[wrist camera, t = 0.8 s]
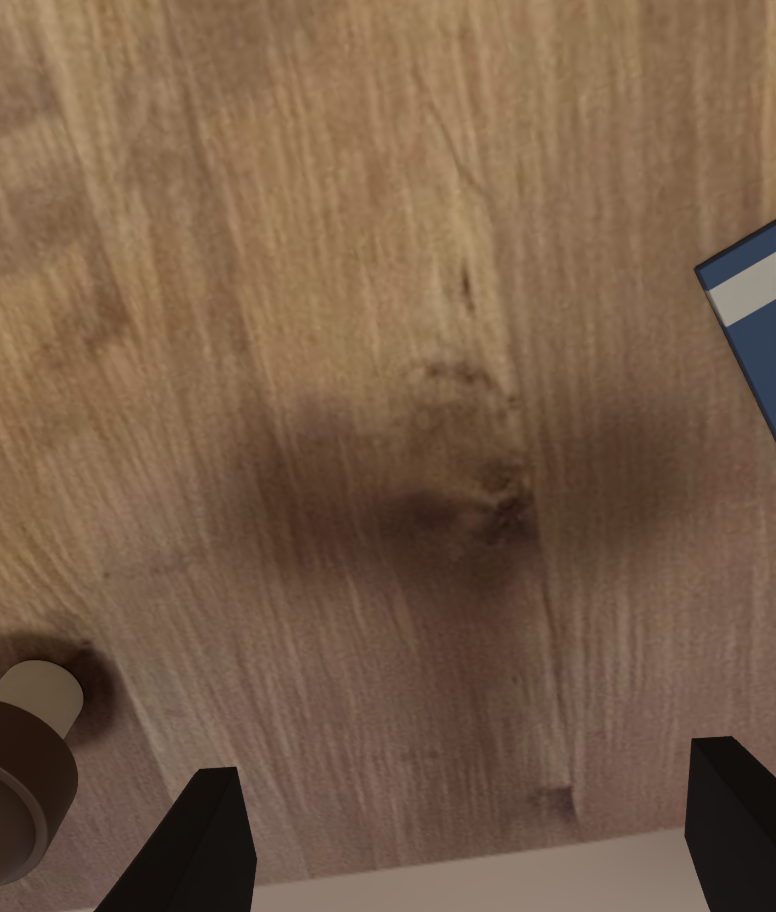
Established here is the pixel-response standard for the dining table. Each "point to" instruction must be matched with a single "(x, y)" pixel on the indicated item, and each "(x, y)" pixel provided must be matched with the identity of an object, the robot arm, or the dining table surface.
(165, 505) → the dining table surface
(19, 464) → the dining table surface
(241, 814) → the robot arm
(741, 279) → the blue flat board
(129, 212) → the dining table surface
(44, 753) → the mushroom
